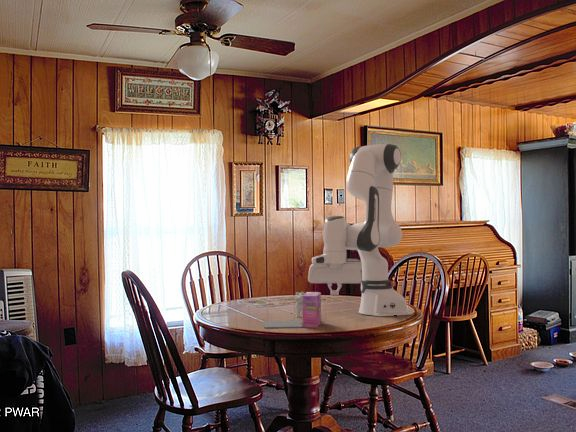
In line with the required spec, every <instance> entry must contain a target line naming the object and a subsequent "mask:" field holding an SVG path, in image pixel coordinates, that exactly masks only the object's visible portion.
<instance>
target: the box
mask: <svg viewBox="0 0 576 432" xmlns="http://www.w3.org/2000/svg"><path fill="white" fill-rule="evenodd" d="M304 293H305V294H304V295H303V296H302V315H301V318H302V321H301V324H302V328H311V329H313V328H315V329H317V328H318V327H319V325H320V324H321V322H322V292H320V291H319V292H318V291H307V292H304Z"/></svg>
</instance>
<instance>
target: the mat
mask: <svg viewBox="0 0 576 432" xmlns="http://www.w3.org/2000/svg"><path fill="white" fill-rule="evenodd" d="M298 328H299V329H301V328H303V327H302V321H301V320H265V321H264V329H298Z"/></svg>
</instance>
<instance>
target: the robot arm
mask: <svg viewBox="0 0 576 432" xmlns="http://www.w3.org/2000/svg"><path fill="white" fill-rule="evenodd" d="M401 156H402V154H401V150H400V148H399V147H398V145H395V144H392V143H387V144H385V143H384V144H383V143H381V144H380V143H378V144H377V143H376V144H369V145H363V146H362V145H360V146H359V145H358V146H355V147H354V148H353V149H352V150H351V152H350V154H349V163H350V164H349V167H348V172H347V176H346V180H345V188H346V189H347V191H348V193H349V194H350V195H351V196H353V197H355V198H357V199H359V200H361V201H363V202H364V205H365V206H364V207H365V209H364V211H365V213H364V221H359V222H356V223H354V224H350V223H349V222H347V221H346V218H345V216H342V215H335V216H334V215H333V216H329V217H326V219H325V220H324V224H323V232H322V233H323V234H322V237H323V239H322V240H323V249H322V254H319V255H316V256H313V257H312V258H311V264H310V265H309V268H308V273H307V274H308V275H307V281H308V282H309V283H310V284H327V287H328V289H329V290H330V296H340V295H339V292H340V290H341V288H342V287H343V285H342V284H360V292H361V298H360V305H359V309H358V313H359V314H361V315H367V316H368V315H369V316H375V317H393V316H394V315H397V316H411V315H413V313H414V312H413V310H412V309H410V308H408V305H407V303H408V302H407V299H406V298H405V297H404V296H403V295H401V294H400V293H399V292H398V291H396V290H395V289H394V288H393V287H395V286H396V281H394V280H390V279H389V263H388V261H387V259H386V258H385V257H383V256H382V255H381V252H380V251H379V248H392V247H395V246H398V245H399V244H400V243H401V240H402V239H403V231H402V228H401V226H400V224H398V223H397V221H396V220H395V219H394V216H393V212H392V201H393V192H394V175H393V173H394V172H395V170H397V168H398V167H399V165H400V163H401V159H402V157H401ZM347 250H350V251H357V252H358V255H359V258H360V259H358V258H347ZM333 284H337V289H336V290H335V289H334V290H333V289H332V286H333ZM394 317H395V316H394Z"/></svg>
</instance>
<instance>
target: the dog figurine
mask: <svg viewBox="0 0 576 432" xmlns="http://www.w3.org/2000/svg"><path fill="white" fill-rule="evenodd" d="M305 293H306V292H305V291H301V292H299V291H297V292H295V300H294V301H295V308H296V315H295V317H296V318H299V317H300V315H301V316H302V296H303V295H304V294H305Z"/></svg>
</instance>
